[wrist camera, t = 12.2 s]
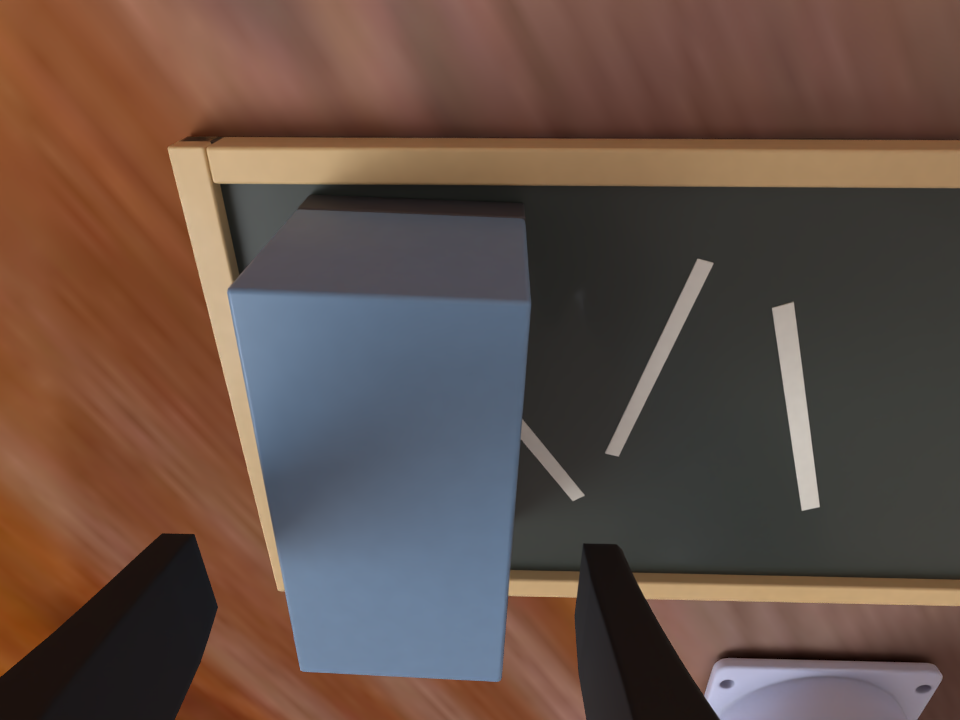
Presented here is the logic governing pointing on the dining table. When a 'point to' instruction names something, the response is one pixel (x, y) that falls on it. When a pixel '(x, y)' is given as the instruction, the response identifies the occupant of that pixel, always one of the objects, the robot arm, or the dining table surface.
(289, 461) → the eraser
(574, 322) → the slate board
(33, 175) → the dining table surface
